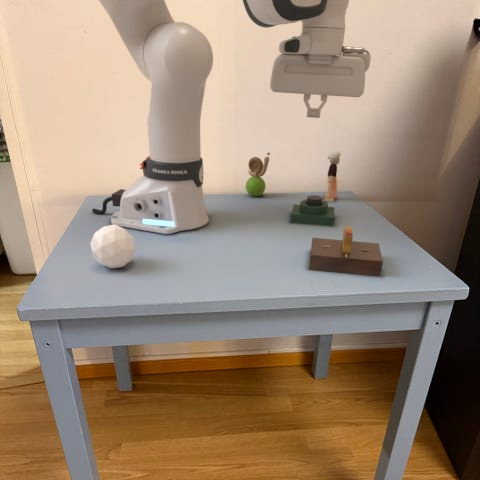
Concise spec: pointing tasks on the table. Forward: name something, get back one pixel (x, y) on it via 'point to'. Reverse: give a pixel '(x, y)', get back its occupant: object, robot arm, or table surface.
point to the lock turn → (347, 240)
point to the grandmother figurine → (332, 176)
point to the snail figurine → (256, 176)
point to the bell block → (313, 214)
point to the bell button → (314, 200)
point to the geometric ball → (113, 246)
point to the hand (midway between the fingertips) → (313, 117)
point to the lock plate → (345, 257)
